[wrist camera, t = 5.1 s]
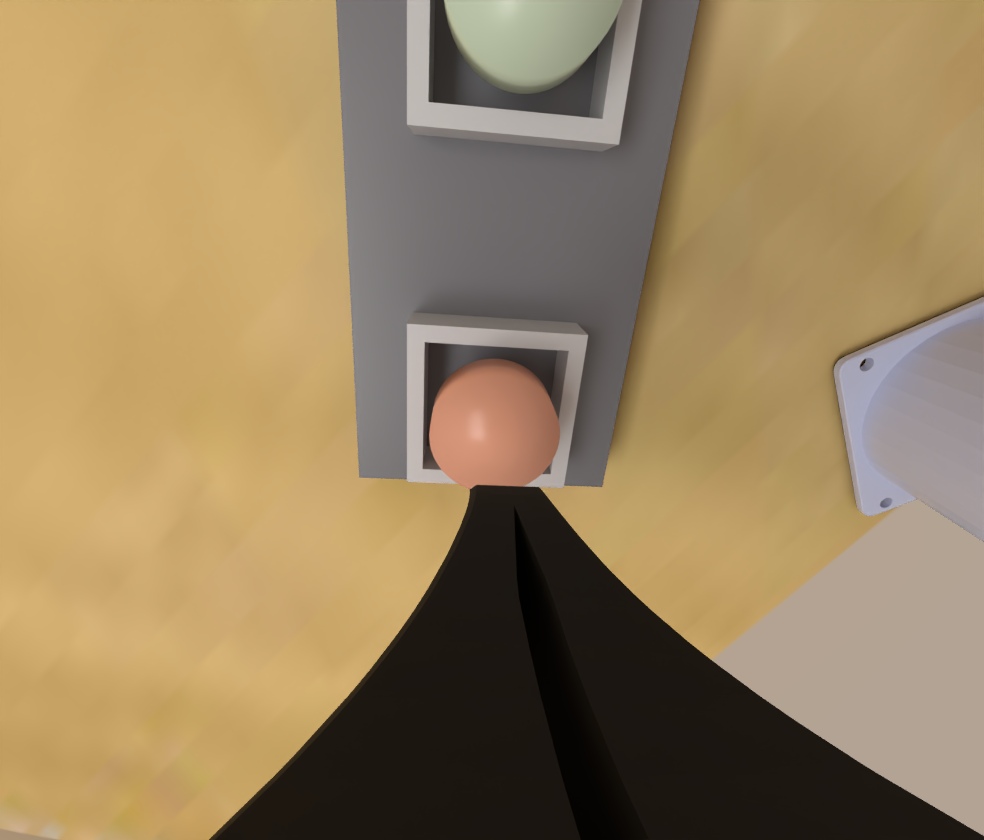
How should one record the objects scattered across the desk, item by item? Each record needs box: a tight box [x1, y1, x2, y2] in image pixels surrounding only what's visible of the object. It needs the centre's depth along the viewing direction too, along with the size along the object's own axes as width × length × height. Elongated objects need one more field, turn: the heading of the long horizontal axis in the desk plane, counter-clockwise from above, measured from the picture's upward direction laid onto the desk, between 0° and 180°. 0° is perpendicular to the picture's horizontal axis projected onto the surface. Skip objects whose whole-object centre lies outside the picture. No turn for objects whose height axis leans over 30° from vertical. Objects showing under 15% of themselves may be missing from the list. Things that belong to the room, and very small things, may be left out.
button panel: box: [336, 0, 700, 488], centre depth 12 cm, size 27×9×4 cm, turn 176°
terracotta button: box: [429, 359, 560, 489], centre depth 14 cm, size 4×4×2 cm
